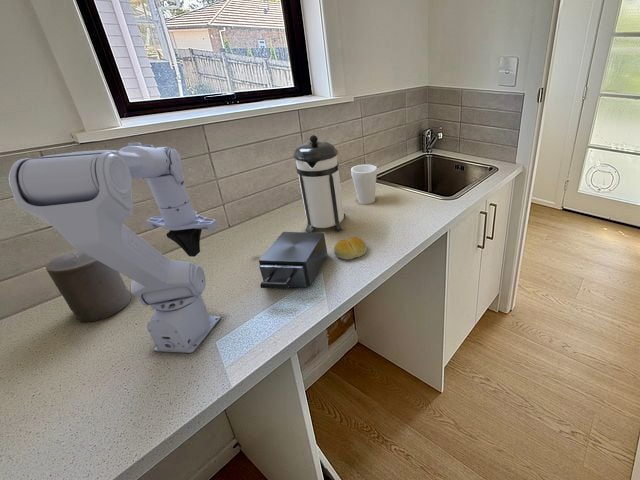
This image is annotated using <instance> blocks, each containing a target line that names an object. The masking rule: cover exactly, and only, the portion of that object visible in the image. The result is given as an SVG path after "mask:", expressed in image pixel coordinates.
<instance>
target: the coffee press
mask: <svg viewBox="0 0 640 480" xmlns="http://www.w3.org/2000/svg"><path fill="white" fill-rule="evenodd" d="M338 154H339V151H338V150H337V148H336V147H335V145H334V144H332V143H330V142H328V141H321V140H320V141H319V138H318V137H317V135H314V134H313V135H310V137H309V141H308V142H304V143H301V144H299V145H298V146H296V148H295V149H294V153H293V159H294V160H295V164H296V165H295V168H296V174H297V176H298V180H299V182H298V183H299V187H300V192H301V197H302V198H301V199H302V203H303V209H304V214H305V218H306V219H305V221H306V223H307V225H306V227H305V232H309V233H313V230H314V229H315V228H316V229H327V228H331V227H333V228H334V229H335V231H336V232H340V231H342V230H343V227H342V226H341V222H343V220H344V218H345V217H346V213H345V211H344V205H343V195H342V188H341V187H342V186H341V178H340V171H339V169H340V164H339V161H338Z"/></svg>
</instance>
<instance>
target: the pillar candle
mask: <svg viewBox="0 0 640 480" xmlns="http://www.w3.org/2000/svg"><path fill="white" fill-rule="evenodd" d="M45 270H46V272H47V273H48V275H49V277H50V279H51V280H52V282H53V284H54V285H55V286H56V288H57V290H58V291H59V293H60V294H61V296H62V298H63V299H64V301H65V302H66V304H67V305H68V308H70V311H72V313H73V315H74V317H75V318H76V320H77V322H80V323H90V322H95V321H96V322H97V321H100V320H103V319H106V318H109V317H111V316H113V315H115V314H116V313H118V312H120V311H121V310H123V309H124V308H125V307H127V305H128V304H129V303H131V300H132V295H131V294H130V292H129V290H128V287H127V285H126V284H125V282H124V279H123V277H122V276H121V273H119V272H118V271H116V270H114V269H112V268H110V267H109V266H107V265H105V264H103V263H101V262H100V261H98V260H96V259H94V258H92V257H91V256H89V255H87V254H85V253H83V252H82V251H80V250H78V249H76V248H74V249H72V250H69V251H67V252H64V253H62V254H60V255H57V256H55V257H54V258H52V259H51V260H49V261H48V262H47V264H46V265H45Z"/></svg>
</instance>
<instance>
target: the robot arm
mask: <svg viewBox="0 0 640 480" xmlns="http://www.w3.org/2000/svg"><path fill="white" fill-rule="evenodd" d="M133 179H135V180H136V179H137V180H138V179H140V180H141V179H142V180H146V182H147V184H148V187H149V189H150V192H151V194H152V197H153V198H154V201H155V204H156V206H157V208H158V210H159V213H160V216H157V215H156V216H155V215H154V216H152V217H150V218H149V219H147V220H146V223H147V226H148V227H149V229H155V228H162V229H165V230H168V232H167V233H166V237H167V238H168V239H169V240H171V241H173V242H174V243H175V244H177V245H178V247H180V248H181V249H182V250H183V251H184V253H186V255H187V256H188V257H193V258H195V257H197V256H198V254H199V253H201V235H202V231H203V230H208V232H214V231H215V230H216V229H217V228H219V224H218V221H217V219H214V218H210V217H205V216H203V215H199V213H198V211H195V209H194V206H193V203H192V201H191V198H190V195H189V192H188V190H187V187H186V184H185V182H184V179H185V174H184V170H183V164H182V158H181V155H180V154H179V152H178V150H176V149H175V148H172V147H170V146H158V147H155V146H154V145H153V144H142V143H141V142H138V141H136V142H128V143H127V146H123V147H121V148H119V149H117V150H116V149H97V150H82V151H72V152H66V153H65V152H64V153H58V154H49V155H42V156H39V157H38V158H33V157H32V158H31V157H26V158H21V159H17V160H16V161H15V162H14V163H13V164H12V166H11V167H10V170H9V173H8V184H9V187H10V189H11V192H12V195H13V199H14V201H15V205H16V206H17V207H18V208H20V209H22V210H23V211H25V212H26V213H28V214H30V215H32V216H33V217H35V218H37V219H38V220H40V221H42V222H44V223H46V224H47V225H49V226H51V227H53V228H54V229H55V230H56V231H57V232H58V233H59V234H60V235H61V236H62V238H64V239H65V240H66V242H68V243H69V245H70V246H72V247H74V249H78V250H80V251H82V252H83V253H85V254H87V255H89V256H91V257H92V258H94V259H96V260H98V261H100V262H101V263H103V264H105V265H107V266H109V267H110V268H112V269H114V270H116V271H118V272H119V274H120V275H123V276H125V277H127V278H128V279H130V280H131V282H130V293H131V294H132V295H134V296H135V297H136V299H137V301H138V302H139V303H140V304H141V305H143V306H146V307H147V306H150V309H152V310H153V311H154V310H155V311H154V313H153V315H152V317H151V318H150V320H149V322H148V323H147V325H146V328H147V331H148V333H149V335H150V337H151V340H152V341H153V343H154V345H155V347H154V348H153V351H154V352H163V353H187V354H192V353H194V352H195V351H196V350H197V348H198V347H199V346H200V345H201V343H202V342H203V341H204V340H205V338H206V337H207V336H208V335H209V334H210V332H211V331H212V330H213V329H214V327H216V325H217V324H218V323H219V321H220V320H221V318H222V317H221V315H209V312H208V309H207V307H206V305H205V302H204V299H203V296H202V294H203V293H204V291H205V288H206V284H207V282H206V274H205V271H204V269H203V267H202V266H201V265H199V264H198V263H192V262H190V261H185V260H171V259H169V258H168V257H166V256H165V255H164V254H163V253H161V252H160V251H159V250H157V249H156V248H155V247H153V246H152V245H151V244H150V243H149V242H147V241H146V240H145V239H143V238H142V237H141V236H139V234H136V232H134V231H133V230H132V229H131V228H129V227H128V226H126V225H125V224H124V223H125V222H126V221H128V220H129V219H131V218H132V217H133V216H134V210H133V208H134V200H133V199H134V198H133V188H132V184H133V183H132V182H133Z"/></svg>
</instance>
